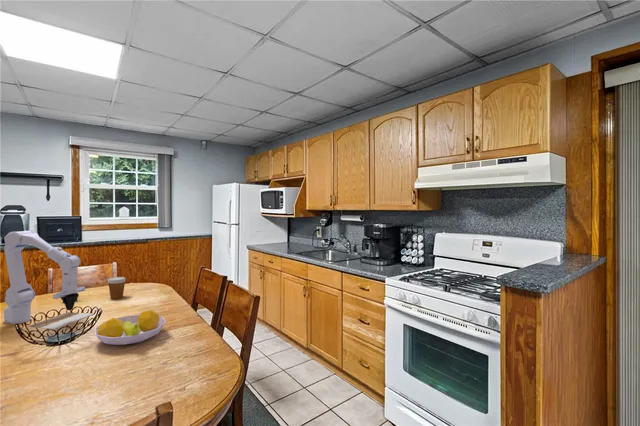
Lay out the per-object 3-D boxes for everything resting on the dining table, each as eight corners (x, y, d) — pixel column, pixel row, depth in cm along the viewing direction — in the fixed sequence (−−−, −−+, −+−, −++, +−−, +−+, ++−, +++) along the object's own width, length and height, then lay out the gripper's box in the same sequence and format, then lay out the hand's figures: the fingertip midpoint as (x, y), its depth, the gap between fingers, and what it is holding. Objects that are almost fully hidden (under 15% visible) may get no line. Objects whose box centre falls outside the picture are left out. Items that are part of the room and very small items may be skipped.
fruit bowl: (104, 330, 144) (104, 305, 144) (169, 324, 153) (169, 301, 153) (80, 358, 118) (80, 328, 117) (161, 349, 127) (161, 321, 126)
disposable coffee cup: (108, 296, 195) (109, 277, 194) (126, 295, 199) (127, 276, 198) (105, 301, 186) (106, 280, 186) (124, 299, 190) (124, 279, 190)
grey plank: (40, 330, 142) (40, 327, 142) (81, 315, 162) (81, 313, 162) (54, 331, 141) (54, 328, 141) (94, 315, 160) (93, 313, 160)
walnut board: (26, 329, 143) (26, 326, 143) (68, 314, 163) (68, 312, 163) (39, 330, 142) (39, 327, 142) (80, 315, 162) (80, 313, 162)
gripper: (62, 285, 142) (61, 315, 143) (90, 278, 157) (90, 305, 157) (49, 284, 144) (48, 314, 144) (78, 277, 158) (78, 304, 158)
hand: (69, 309), depth 151 cm, fingers closed
